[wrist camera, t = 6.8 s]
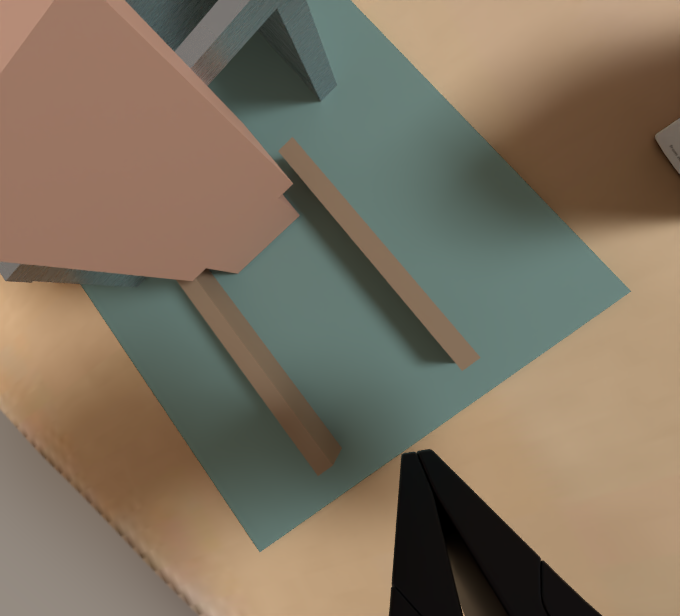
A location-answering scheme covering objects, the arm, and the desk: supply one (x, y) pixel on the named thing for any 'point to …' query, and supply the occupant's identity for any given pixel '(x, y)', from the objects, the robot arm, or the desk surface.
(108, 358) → the desk surface
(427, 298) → the plate
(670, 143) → the ink box
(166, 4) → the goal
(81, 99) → the salmon orange block
